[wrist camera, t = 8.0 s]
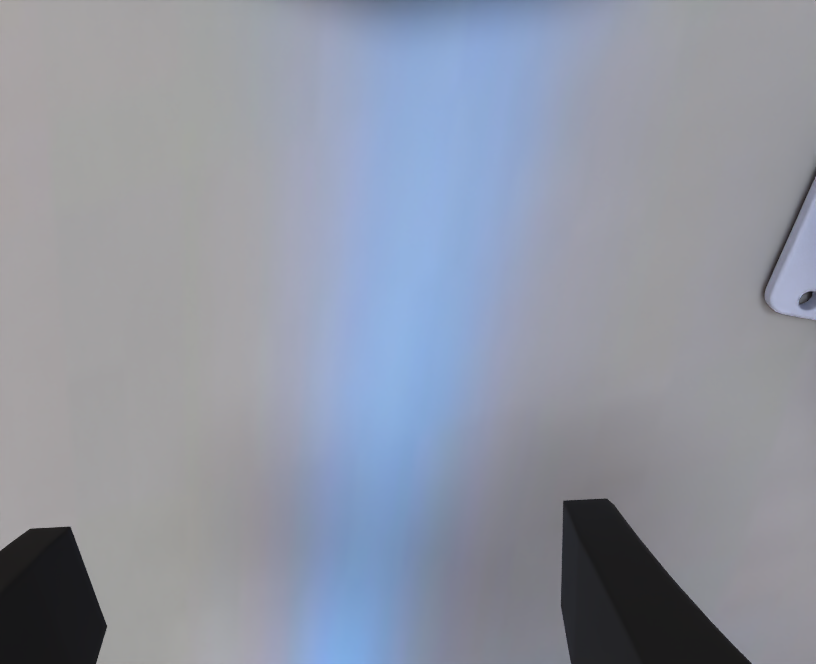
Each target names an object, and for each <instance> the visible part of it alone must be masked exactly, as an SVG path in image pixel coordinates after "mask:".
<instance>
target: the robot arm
mask: <svg viewBox="0 0 816 664" xmlns="http://www.w3.org/2000/svg"><path fill="white" fill-rule="evenodd" d="M808 291H813V293H812V297H811V298H810V299H809V300H808V301H807V302H805V303H802V304H799V299H800V297H801V296H802V295H803V294H804V293H806V292H808ZM764 296H765V300H766V303H767V304H768V305H769V306H770V307H771V308H772V309H773V310H774V311H775V312H778V313H780V314H784V315H789V316H795V317H800V318H806V319H811V320H816V177H815V179H814V181H813V183H812V186H811V188H810V190H809V192H808V195H807V197H806V199H805V201H804V204H803V206H802V208H801V210H800V213H799V215H798V217H797V219H796V222H795V224H794V226H793V228H792V231H791V233H790V235H789V237H788V240H787V242H786V244H785V247H784V249H783V251H782V253H781V256H780V258H779V260H778V262H777V265H776V267H775V269H774V271H773V274H772V276H771V278H770V280H769V283H768V285H767V287H766V290H765V295H764ZM561 608H562V614H563V620H564V626H565V632H566V638H567V643H568V649H569V654H570V660H571V664H752V663H751V662H750V661H749V660H748V659H747V658H746V657H745V656H744V655H743V654H742V653H741V652H740V651H739V650H738V649H737V648H736V647H735V646H734V645H733V644H732V643H731V642H730V641H729V640H728V639H727V638H726V637H725V636H724V635H723V634H722V633H721V632H720V631H719V630H718V628H717V627H716V626H715V625H714V624H713V623H712V622H711V621H710V620H709V619H708V618H707V617H706V615H705V614H704V613H703V612H702V611H701V610H700V609H699V608H698V607H697V605H696V604H695V603H694V602H693V601H692V600H691V599H690V598H689V597H688V595H687V594H686V593H685V592H684V591H683V590H682V589H681V588H680V587H679V585H678V584H677V583H676V582H675V581H674V580H673V578H672V577H671V576H670V575H669V574H668V573H667V571H666V570H665V569H664V568H663V567H662V565H661V564H660V563H659V562H658V561H657V559H656V558H655V557H654V556H653V554H652V553H651V552H650V551H649V550H648V548H647V547H646V546H645V545H644V543H643V542H642V541H641V540H640V538H639V537H638V536H637V535H636V533H635V532H634V531H633V529H632V528H631V527H630V526H629V524H628V523H627V522H626V520H625V519H624V518H623V516H622V515H621V514H620V512H619V511H618V510H617V508H616V507H615V505H614V504H612V503H611V502H610V501H609V500H608V499H588V500H569V501H563V542H562V584H561ZM106 628H107V625H106V622H105V620H104V617H103V614H102V611H101V609H100V606H99V603H98V601H97V598H96V595H95V592H94V590H93V587H92V584H91V581H90V579H89V576H88V573H87V571H86V568H85V565H84V562H83V560H82V557H81V554H80V551H79V549H78V546H77V543H76V541H75V538H74V535H73V532H72V530H71V527H55V528H36V529H29V530H28V531H27V532H25V533H24V534H22V535H21V536H20V537H18V538H17V539H15V540H14V541H13V542H11V543H10V544H9V545H7V546H6V547H5V548H4V549H2V550H1V551H0V664H96V662H97V658H98V655H99V652H100V648H101V645H102V642H103V638H104V635H105V631H106Z"/></svg>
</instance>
